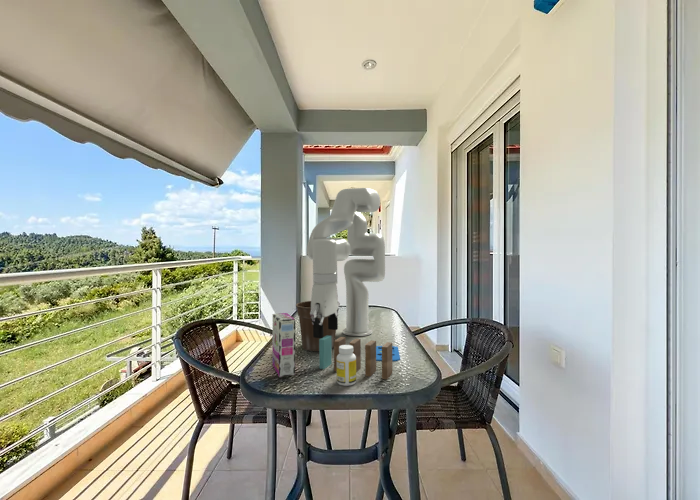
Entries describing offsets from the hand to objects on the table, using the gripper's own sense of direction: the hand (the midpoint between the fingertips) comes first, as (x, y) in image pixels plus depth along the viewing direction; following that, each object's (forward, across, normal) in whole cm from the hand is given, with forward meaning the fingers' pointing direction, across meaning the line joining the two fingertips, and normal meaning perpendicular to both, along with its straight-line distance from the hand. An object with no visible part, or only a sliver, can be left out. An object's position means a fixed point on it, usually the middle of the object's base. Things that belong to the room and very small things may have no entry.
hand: (325, 333), depth 106 cm
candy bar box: (+10, +9, -10) cm, 17 cm away
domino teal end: (+10, +1, 0) cm, 10 cm away
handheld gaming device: (+11, -18, +14) cm, 26 cm away
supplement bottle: (+10, +10, +11) cm, 18 cm away
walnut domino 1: (+10, +1, +5) cm, 11 cm away
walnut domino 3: (+10, +1, +15) cm, 18 cm away
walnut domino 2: (+10, +1, +10) cm, 14 cm away
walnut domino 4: (+10, +1, +20) cm, 22 cm away
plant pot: (+11, -16, -12) cm, 23 cm away
